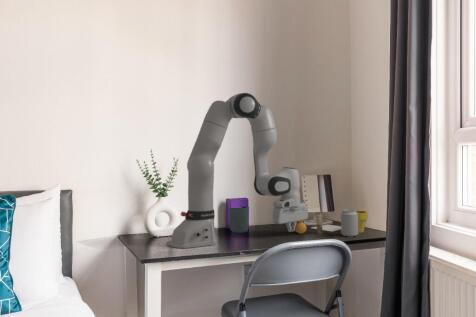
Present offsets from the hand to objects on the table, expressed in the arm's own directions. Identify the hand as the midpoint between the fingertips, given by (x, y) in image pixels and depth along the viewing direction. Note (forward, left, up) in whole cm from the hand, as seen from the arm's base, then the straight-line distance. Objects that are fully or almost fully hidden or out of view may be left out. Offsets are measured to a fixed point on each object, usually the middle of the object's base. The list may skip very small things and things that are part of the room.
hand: (291, 231), depth 219 cm
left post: (+13, +7, -2) cm, 15 cm away
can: (+18, -19, -2) cm, 27 cm away
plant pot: (+29, -15, -2) cm, 33 cm away
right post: (+13, -6, -2) cm, 14 cm away
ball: (+6, 0, +1) cm, 7 cm away
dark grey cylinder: (-10, +27, -2) cm, 28 cm away
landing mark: (+28, 0, -2) cm, 28 cm away
